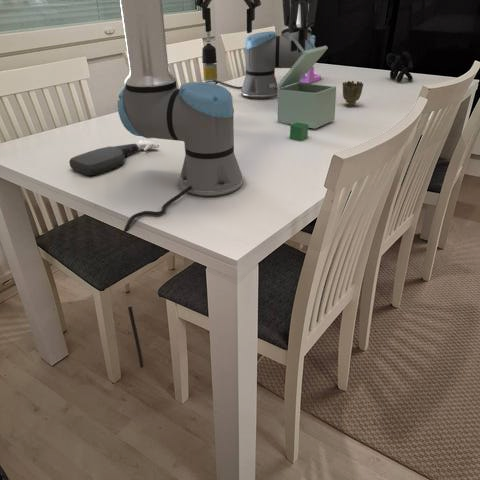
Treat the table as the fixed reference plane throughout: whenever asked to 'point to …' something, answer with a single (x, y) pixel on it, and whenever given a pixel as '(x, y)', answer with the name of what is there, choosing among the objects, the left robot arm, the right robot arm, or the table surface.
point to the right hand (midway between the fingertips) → (297, 51)
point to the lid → (301, 62)
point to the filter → (209, 61)
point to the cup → (352, 92)
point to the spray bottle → (106, 157)
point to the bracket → (310, 76)
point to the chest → (306, 104)
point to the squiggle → (399, 66)
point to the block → (299, 131)
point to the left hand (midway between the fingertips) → (228, 32)
